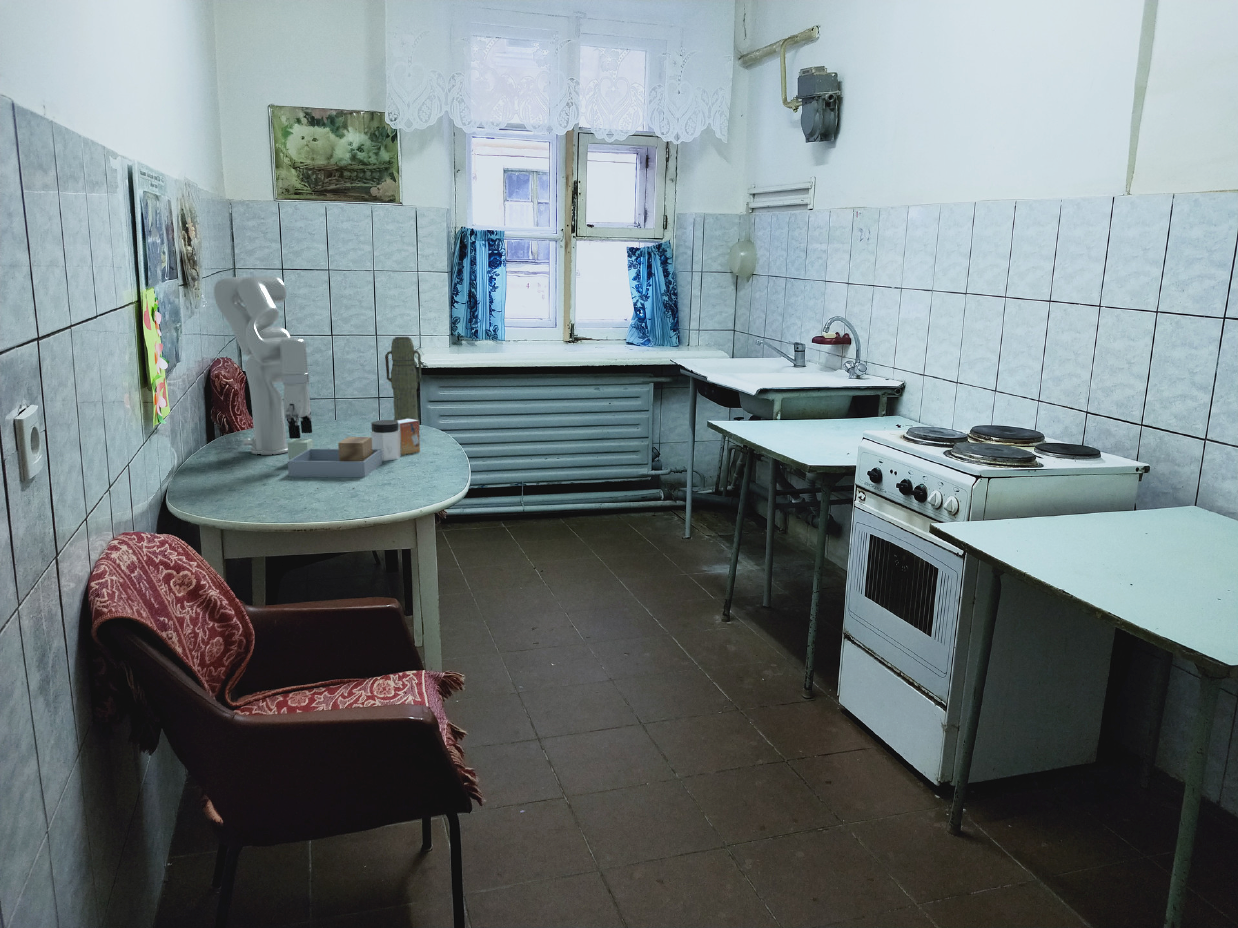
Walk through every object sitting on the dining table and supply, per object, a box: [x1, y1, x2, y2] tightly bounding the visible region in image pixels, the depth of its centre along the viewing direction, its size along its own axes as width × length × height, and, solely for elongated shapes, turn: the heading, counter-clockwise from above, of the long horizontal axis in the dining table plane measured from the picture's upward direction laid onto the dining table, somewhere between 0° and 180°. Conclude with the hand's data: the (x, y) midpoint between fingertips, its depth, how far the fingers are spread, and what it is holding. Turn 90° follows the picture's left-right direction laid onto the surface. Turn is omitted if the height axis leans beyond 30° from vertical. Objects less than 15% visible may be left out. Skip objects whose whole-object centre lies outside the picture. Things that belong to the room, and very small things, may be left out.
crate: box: [287, 448, 383, 478], centre depth 267 cm, size 22×17×5 cm
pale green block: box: [286, 438, 314, 461], centre depth 279 cm, size 6×5×7 cm
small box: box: [398, 419, 421, 456], centre depth 293 cm, size 8×6×10 cm
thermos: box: [384, 336, 422, 438], centre depth 315 cm, size 9×12×35 cm
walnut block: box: [337, 436, 373, 461], centre depth 266 cm, size 7×9×9 cm
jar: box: [370, 419, 402, 462], centre depth 282 cm, size 9×8×12 cm
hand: (301, 435), depth 277 cm, fingers open, 9 cm apart
